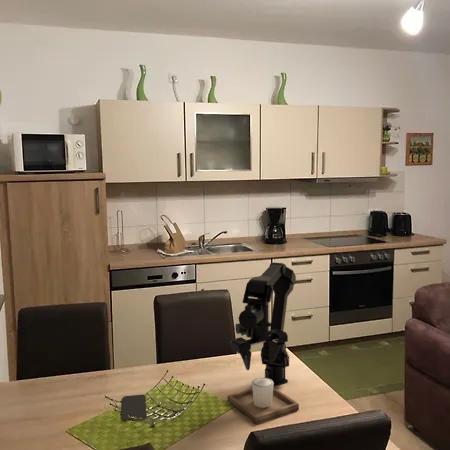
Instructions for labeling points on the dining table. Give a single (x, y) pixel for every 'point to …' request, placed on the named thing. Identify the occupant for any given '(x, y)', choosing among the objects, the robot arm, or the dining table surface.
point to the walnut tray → (257, 414)
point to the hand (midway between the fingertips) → (259, 366)
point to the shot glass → (262, 392)
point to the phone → (133, 407)
